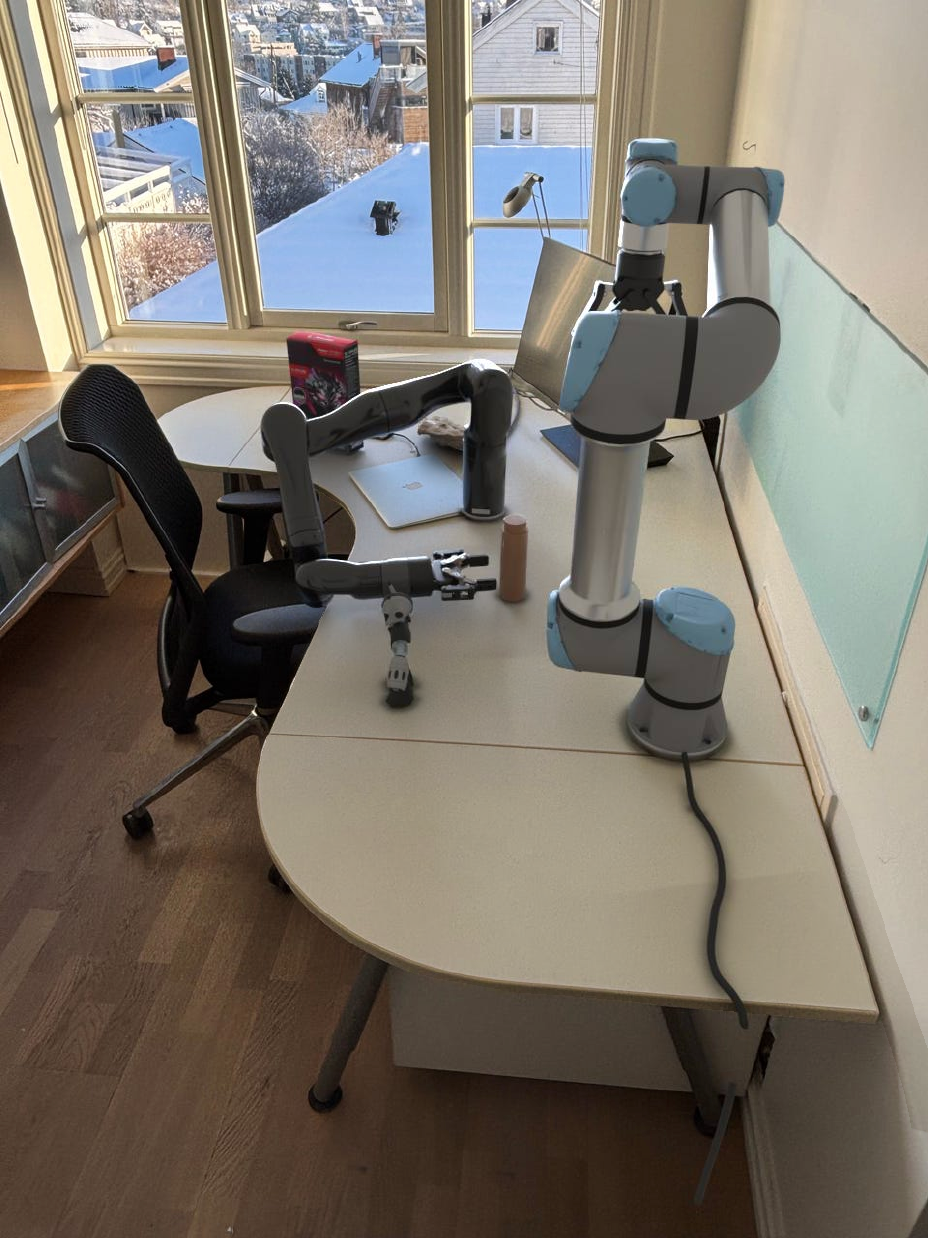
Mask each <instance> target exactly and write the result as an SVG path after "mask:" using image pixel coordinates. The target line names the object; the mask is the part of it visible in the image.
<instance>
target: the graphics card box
mask: <svg viewBox="0 0 928 1238" xmlns="http://www.w3.org/2000/svg"><path fill="white" fill-rule="evenodd" d="M285 341H286V348H287V349H286V350H287V359H288V369H289V378H290V389H291V398H292V404H293V405H295V406H297V407H298V408H299V409H301V410H302V412H303V413H304V414H305V416H306V418H307V420H310V419H314V418H318V417H321V416H324V415H327V414H329V413H331V412H333V411H334V410H336V409H338V408H339V407H341V406H342V405H344V404H345V403H347V402H348V401H349V400H351V399H353V398H354V397H356V396H358V395H359V394H361V393H362V392H361V377H360V361H359V341H358V339H350V338H343V337H339V336H333V335H330V334H329V335H328V334H324V333H318V332H313V331H312V332H311V331H306V330H298V331H295V332H293V333H292V334H290V335H289V336H288V337H286V340H285ZM364 445H365V443H364V440H363V441H360V442H356V443H352V444H348V445H344V446H340V447H337V448H334V449H331V450H329V451H330V452H334V453H340V454H343V455H348V456H351V455H353V454H354V453H356V452H358V451H359V450H361V449H363V448H364Z"/></svg>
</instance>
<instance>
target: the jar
mask: <svg viewBox="0 0 928 1238" xmlns="http://www.w3.org/2000/svg"><path fill="white" fill-rule="evenodd" d="M527 525H528V520H527V518H526V517H525V516H524V515H520V514H508V515H505V517H504V518H503V525H502V526H501V528H500V549H499V550H500V551H499V552H500V555H499V583H498V584H499V585H498V596H499V598H500V599H501V600H503V601H505V602H508V603H516V602H517V603H518V602H520V601H522V600H524V599H525V597H526V585H527V583H526V582H527V564H528V563H527V562H528V548H529V547H528V546H529V544H528V543H529V527H528V526H527Z"/></svg>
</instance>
